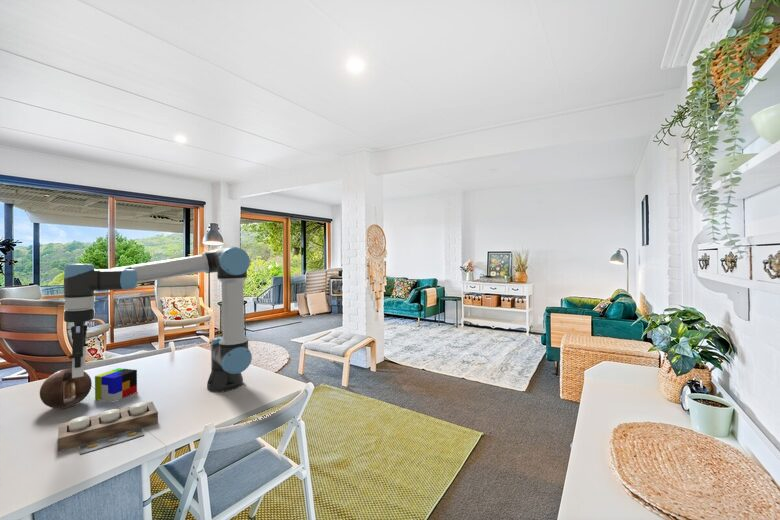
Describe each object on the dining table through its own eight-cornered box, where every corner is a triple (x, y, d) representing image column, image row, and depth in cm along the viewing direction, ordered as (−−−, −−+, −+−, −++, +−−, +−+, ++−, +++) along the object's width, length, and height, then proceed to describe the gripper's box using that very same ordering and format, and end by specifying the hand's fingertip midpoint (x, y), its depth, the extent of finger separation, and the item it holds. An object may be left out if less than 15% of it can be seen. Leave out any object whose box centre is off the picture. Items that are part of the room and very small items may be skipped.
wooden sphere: (48, 403, 138) (48, 367, 138) (96, 396, 145) (95, 361, 145) (32, 419, 125) (32, 379, 125) (85, 410, 132) (85, 372, 132)
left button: (89, 424, 116) (88, 414, 116) (89, 430, 113) (89, 420, 112) (69, 430, 113) (68, 419, 113) (68, 436, 109) (68, 425, 109)
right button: (145, 410, 127) (145, 401, 127) (148, 414, 124) (147, 405, 123) (129, 414, 124) (129, 405, 124) (130, 419, 120) (130, 409, 120)
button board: (152, 411, 131) (152, 401, 131) (161, 430, 118) (161, 419, 118) (58, 436, 114) (58, 424, 114) (57, 461, 100) (56, 448, 100)
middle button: (118, 417, 122) (118, 407, 122) (120, 422, 118) (120, 412, 118) (100, 421, 118) (100, 412, 118) (101, 427, 115) (101, 417, 115)
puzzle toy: (114, 401, 140) (114, 378, 140) (95, 399, 142) (94, 376, 142) (137, 392, 150) (136, 369, 149) (118, 390, 152) (118, 368, 151)
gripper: (67, 305, 122) (67, 363, 122) (59, 315, 102) (59, 384, 103) (95, 303, 126) (95, 360, 127) (92, 313, 107) (92, 379, 108)
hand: (79, 371), depth 115 cm, fingers open, 13 cm apart
